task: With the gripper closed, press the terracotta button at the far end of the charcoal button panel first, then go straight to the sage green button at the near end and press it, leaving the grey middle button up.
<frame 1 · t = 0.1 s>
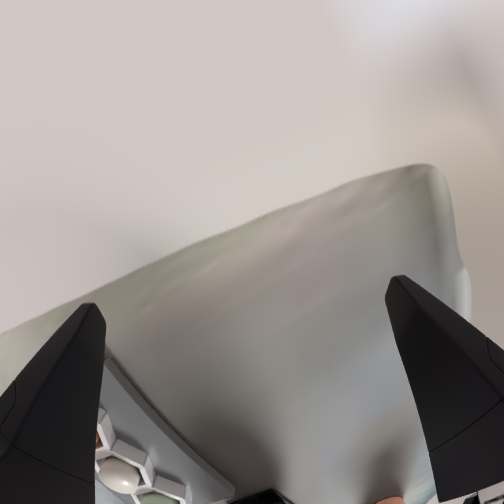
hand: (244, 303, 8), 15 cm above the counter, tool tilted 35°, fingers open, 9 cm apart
button panel: (129, 452, 24), on the counter
grey button: (119, 474, 21), point 4 cm above the counter, slide at 0.0 cm
terracotta button: (77, 433, 20), point 4 cm above the counter, slide at 0.0 cm
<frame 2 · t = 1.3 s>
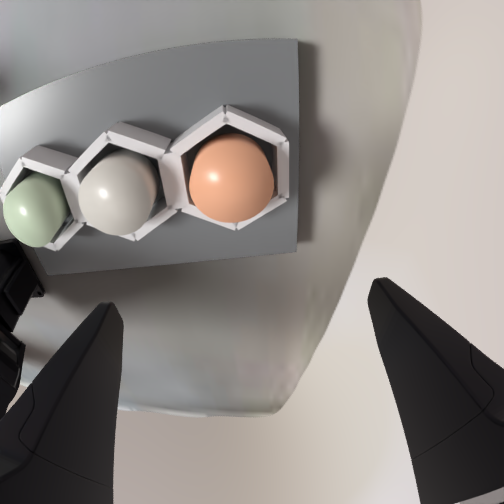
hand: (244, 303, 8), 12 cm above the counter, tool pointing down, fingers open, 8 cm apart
button panel: (136, 166, 17), on the counter
grey button: (119, 191, 15), point 4 cm above the counter, slide at 0.0 cm
sage button: (36, 208, 14), point 4 cm above the counter, slide at 0.0 cm
terracotta button: (231, 176, 15), point 4 cm above the counter, slide at 0.0 cm
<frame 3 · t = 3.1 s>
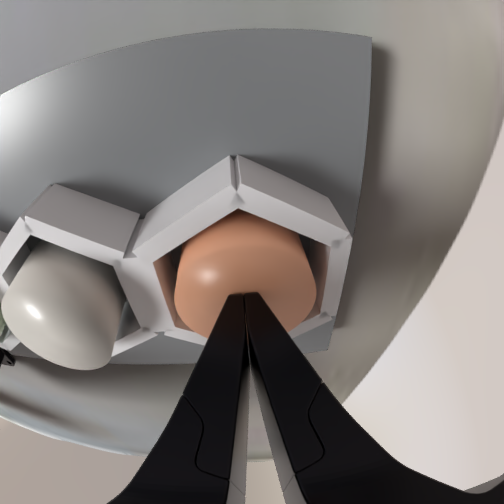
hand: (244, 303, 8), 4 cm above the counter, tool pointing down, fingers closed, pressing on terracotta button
button panel: (95, 241, 11), on the counter
grey button: (64, 307, 8), point 4 cm above the counter, slide at 0.0 cm
terracotta button: (243, 274, 9), point 3 cm above the counter, slide at 0.9 cm, touching gripper
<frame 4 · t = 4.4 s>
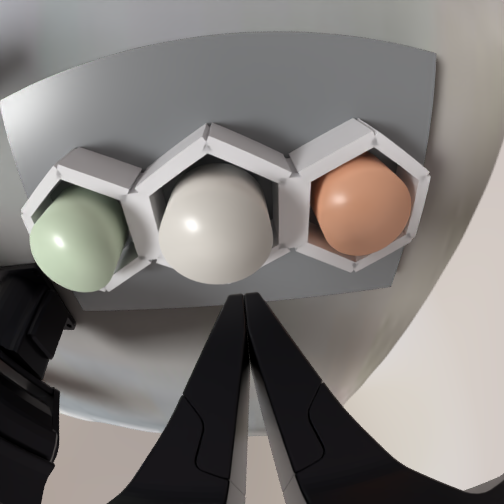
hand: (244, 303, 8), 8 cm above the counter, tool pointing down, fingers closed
button panel: (219, 182, 14), on the counter
grey button: (216, 224, 11), point 4 cm above the counter, slide at 0.0 cm
sage button: (79, 238, 11), point 4 cm above the counter, slide at 0.0 cm
terracotta button: (358, 201, 12), point 3 cm above the counter, slide at 1.0 cm
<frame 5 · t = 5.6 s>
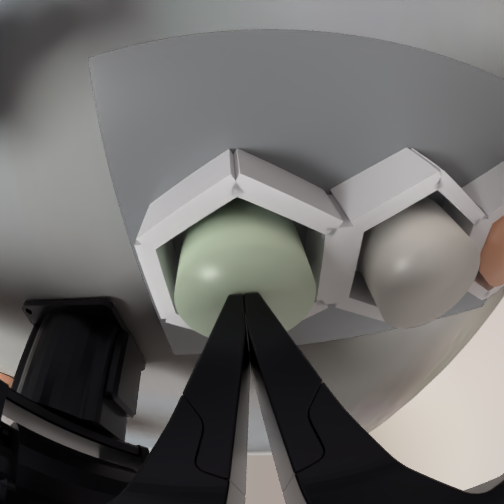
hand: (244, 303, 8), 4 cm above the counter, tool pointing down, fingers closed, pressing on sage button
button panel: (377, 209, 12), on the counter
grey button: (418, 264, 9), point 4 cm above the counter, slide at 0.0 cm
sage button: (243, 273, 9), point 3 cm above the counter, slide at 0.4 cm, touching gripper
terracotta button: (501, 237, 10), point 3 cm above the counter, slide at 1.0 cm
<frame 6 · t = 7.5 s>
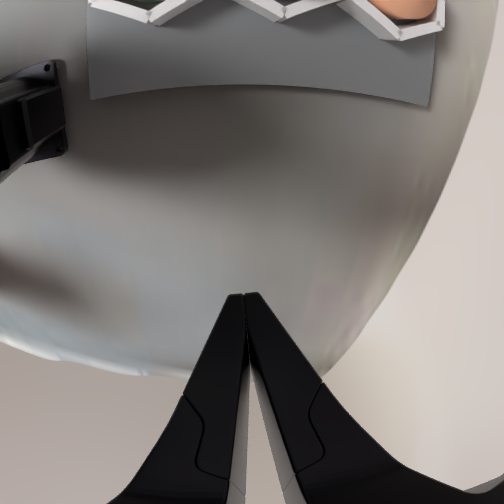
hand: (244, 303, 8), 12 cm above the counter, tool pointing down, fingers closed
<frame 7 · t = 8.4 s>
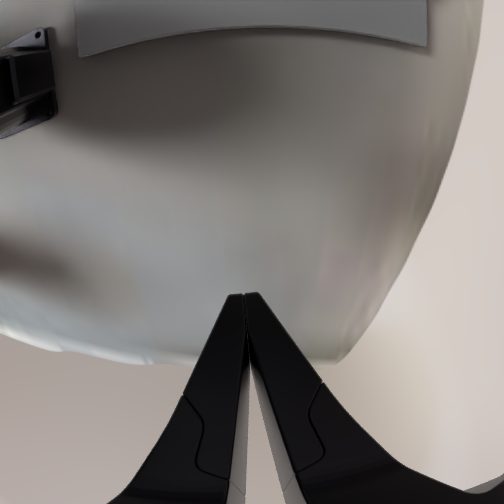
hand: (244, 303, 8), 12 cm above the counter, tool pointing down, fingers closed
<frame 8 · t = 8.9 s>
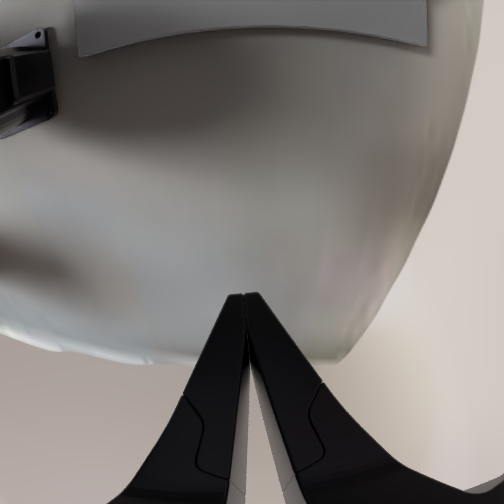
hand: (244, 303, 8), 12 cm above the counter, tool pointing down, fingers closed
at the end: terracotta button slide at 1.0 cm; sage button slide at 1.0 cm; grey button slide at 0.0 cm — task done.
